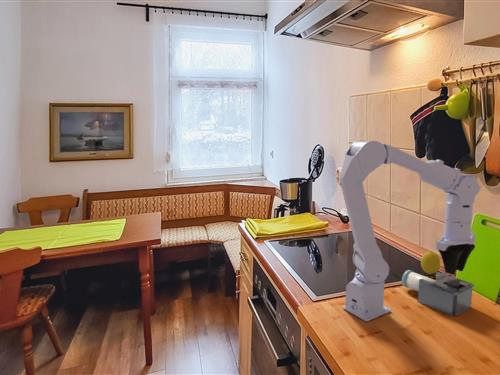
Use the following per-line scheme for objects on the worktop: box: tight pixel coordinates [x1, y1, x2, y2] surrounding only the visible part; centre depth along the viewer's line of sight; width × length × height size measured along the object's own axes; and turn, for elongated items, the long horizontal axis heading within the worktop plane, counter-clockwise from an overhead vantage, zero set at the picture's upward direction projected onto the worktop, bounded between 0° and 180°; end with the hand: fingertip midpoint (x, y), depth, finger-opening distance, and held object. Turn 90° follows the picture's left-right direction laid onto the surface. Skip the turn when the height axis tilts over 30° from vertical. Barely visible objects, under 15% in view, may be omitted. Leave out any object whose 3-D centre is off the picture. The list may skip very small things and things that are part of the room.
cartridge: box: [401, 269, 436, 292], centre depth 94 cm, size 10×5×5 cm, turn 31°
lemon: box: [420, 250, 441, 276], centre depth 107 cm, size 6×6×8 cm
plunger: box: [447, 276, 461, 288], centre depth 86 cm, size 3×3×2 cm
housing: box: [417, 271, 476, 317], centre depth 88 cm, size 10×9×6 cm
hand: (454, 271), depth 86 cm, fingers open, 3 cm apart
